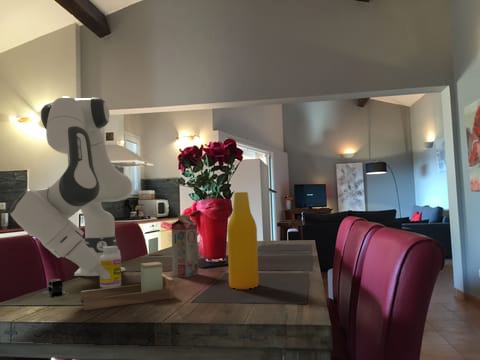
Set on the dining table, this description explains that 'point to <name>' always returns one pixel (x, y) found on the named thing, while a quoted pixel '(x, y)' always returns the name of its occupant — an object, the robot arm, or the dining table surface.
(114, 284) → the supplement bottle
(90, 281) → the dining table surface
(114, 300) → the bay
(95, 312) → the dining table surface
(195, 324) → the dining table surface
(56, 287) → the black box
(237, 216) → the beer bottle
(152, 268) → the cream tall block
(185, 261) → the juice carton
